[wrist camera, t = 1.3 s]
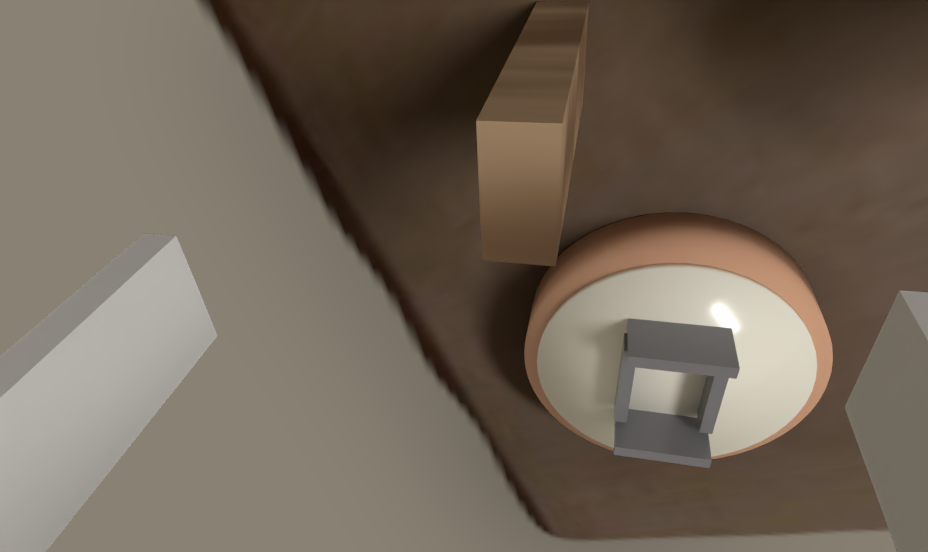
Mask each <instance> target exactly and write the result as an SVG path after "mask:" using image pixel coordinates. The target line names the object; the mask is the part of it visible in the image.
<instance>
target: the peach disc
mask: <svg viewBox="0 0 928 552" xmlns="http://www.w3.org/2000/svg"><path fill="white" fill-rule="evenodd" d="M524 358H525V368H526V371H527V375H528V379H529V381H530V384H531V386H532V388H533V390H534V392H535V394H536V395H537V397H538V398H539V400H540V402H541V403H542V404H543V405H544V406H545V408H546V409H547V410H548V411H549V412H550V413H551V414H552V415H553V416H554V417H555V418H556V419H557V420H558V421H559V422H560V423H562V424H563V425H564V426H566V427H567V428H568V429H570V430H571V431H573V432H574V433H576V434H578V435H579V436H581V437H583V438H584V439H586V440H588V441H590V442H593V443H595V444H597V445H599V446H601V447H604V448H607V449H610V450H612V451H614V455H621V456H628V457H635V458H642V459H649V460H656V461H663V462H670V463H677V464H684V465H691V466H698V467H705V468H709V467H710V464H711V461H712V459H716V458H722V457H726V456H731V455H735V454H739V453H742V452H745V451H748V450H751V449H754V448H756V447H759V446H761V445H763V444H766V443H768V442H770V441H772V440H774V439H776V438H777V437H779V436H781V435H783V434H784V433H786V432H787V431H789V430H790V429H791V428H793V427H794V426H795V425H797V424H798V423H799V422H800V421H801V420H802V419H803V418H804V417H805V416H807V415H808V414H809V413H810V411H811V410H812V409H813V408H814V406H815V405H816V404H817V402H818V401H819V400H820V398H821V396H822V394H823V392H824V391H825V389H826V387H827V384H828V381H829V378H830V375H831V370H832V362H833V353H832V342H831V339H830V335H829V332H828V329H827V326H826V323H825V321H824V318H823V316H822V313H821V311H820V308H819V306H818V303H817V300H816V298H815V295H814V293H813V290H812V288H811V285H810V283H809V281H808V279H807V278H806V276H805V274H804V272H803V270H802V269H801V268H800V267H799V265H798V264H797V263H796V261H795V260H794V259H793V258H792V257H791V256H790V255H789V254H788V253H787V252H786V251H785V250H784V249H783V248H782V247H781V246H779V245H778V244H776V243H775V242H773V241H772V240H771V239H769V238H768V237H766V236H765V235H763V234H761V233H759V232H757V231H755V230H753V229H751V228H749V227H747V226H744V225H741V224H738V223H735V222H733V221H730V220H726V219H722V218H718V217H713V216H709V215H701V214H692V213H659V214H649V215H642V216H638V217H633V218H628V219H624V220H621V221H618V222H615V223H612V224H609V225H606V226H604V227H602V228H600V229H598V230H595V231H593V232H591V233H589V234H588V235H586V236H584V237H583V238H581V239H580V240H578V241H576V242H575V243H573V244H572V245H571V246H570V247H569V248H567V249H566V250H565V251H564V252H562V253H561V254H560V255H559V257H558V258H557V262H556V266H550V267H549V268H548V270H547V271H546V273H545V274H544V276H543V277H542V279H541V281H540V283H539V286H538V288H537V290H536V293H535V297H534V300H533V305H532V310H531V315H530V320H529V325H528V330H527V335H526V340H525V349H524Z"/></svg>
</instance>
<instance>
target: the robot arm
mask: <svg viewBox="0 0 928 552" xmlns="http://www.w3.org/2000/svg"><path fill="white" fill-rule="evenodd" d="M216 337H217V333H216V331H215V329H214V326H213V324H212V321H211V319H210V316H209V314H208V311H207V309H206V307H205V304H204V302H203V299H202V297H201V294H200V292H199V290H198V287H197V285H196V282H195V280H194V278H193V275H192V273H191V270H190V268H189V266H188V263H187V261H186V258H185V256H184V253H183V251H182V249H181V246H180V244H179V241H178V239H177V236H174V235H161V234H148V233H147V234H146V233H144V234H142V235H141V236H140V237H139V238H138V239H137V240H135V241H134V242H133V243H132V244H131V245H130V246H128V247H127V248H126V249H125V250H124V251H123V252H121V253H120V254H119V255H118V256H117V257H116V258H114V259H113V260H112V261H111V262H110V263H109V264H107V265H106V266H105V267H104V268H103V269H101V270H100V271H99V272H98V273H97V274H96V275H95V276H93V277H92V278H91V279H90V280H89V281H88V282H86V283H85V284H84V285H83V286H82V287H80V288H79V289H78V290H77V291H76V292H75V293H73V294H72V295H71V296H70V297H69V298H68V299H67V300H65V301H64V302H63V303H62V304H61V305H59V306H58V307H57V308H56V309H55V310H54V311H52V312H51V313H50V314H49V315H48V316H47V317H46V318H44V319H43V320H42V321H41V322H40V323H38V324H37V325H36V326H35V327H34V328H33V329H31V330H30V331H29V332H28V333H27V334H26V335H24V336H23V337H22V338H21V339H20V340H19V341H18V342H16V343H15V344H14V345H13V346H12V347H10V348H9V349H8V350H7V351H6V352H5V353H3V354H2V355H1V356H0V552H46V551H47V549H48V548H49V547H50V545H51V544H52V543H53V542H54V541H55V539H56V538H57V537H58V536H59V534H60V533H61V532H62V530H63V529H64V528H65V527H66V525H67V524H68V523H69V522H70V520H71V519H72V518H73V517H74V515H75V514H76V513H77V512H78V510H79V509H80V508H81V507H82V505H83V504H84V503H85V502H86V500H87V499H88V498H89V496H90V495H91V494H92V493H93V492H94V490H95V489H96V488H97V486H98V485H99V484H100V483H101V481H102V480H103V479H104V478H105V476H106V475H107V474H108V473H109V471H110V470H111V469H112V468H113V466H114V465H115V464H116V463H117V461H118V460H119V459H120V458H121V456H122V455H123V454H124V453H125V451H126V450H127V449H128V448H129V446H130V445H131V444H132V443H133V441H134V440H135V439H136V438H137V436H138V435H139V434H140V432H141V431H142V430H143V429H144V427H145V426H146V425H147V424H148V422H149V421H150V420H151V419H152V417H153V416H154V415H155V414H156V412H157V411H158V410H159V409H160V407H161V406H162V405H163V404H164V402H165V401H166V400H167V399H168V397H169V396H170V395H171V394H172V392H173V391H174V390H175V389H176V387H177V386H178V385H179V383H180V382H181V381H182V380H183V378H184V377H185V376H186V375H187V373H188V372H189V371H190V370H191V368H192V367H193V366H194V365H195V363H196V362H197V361H198V360H199V358H200V357H201V356H202V354H203V353H204V352H205V351H206V349H207V348H208V347H209V346H210V345H211V343H212V342H213V341H214V339H215V338H216ZM845 410H846V412H847V415H848V418H849V421H850V423H851V426H852V429H853V432H854V434H855V437H856V440H857V443H858V446H859V448H860V451H861V454H862V457H863V459H864V462H865V465H866V468H867V470H868V473H869V476H870V479H871V481H872V484H873V487H874V490H875V493H876V495H877V498H878V501H879V504H880V506H881V509H882V512H883V515H884V517H885V520H886V523H887V526H888V528H889V531H890V534H891V537H892V540H893V542H894V545H895V548H896V551H897V552H928V293H926V292H913V291H900V290H899V292H898V295H897V297H896V299H895V301H894V303H893V305H892V307H891V309H890V312H889V314H888V316H887V318H886V320H885V322H884V324H883V326H882V329H881V331H880V333H879V335H878V337H877V339H876V341H875V343H874V346H873V348H872V350H871V352H870V354H869V356H868V358H867V360H866V363H865V365H864V367H863V369H862V371H861V373H860V375H859V378H858V380H857V382H856V384H855V386H854V388H853V390H852V392H851V395H850V397H849V399H848V401H847V403H846V405H845Z"/></svg>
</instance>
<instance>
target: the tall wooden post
mask: <svg viewBox="0 0 928 552" xmlns="http://www.w3.org/2000/svg"><path fill="white" fill-rule="evenodd" d="M588 13H589V1H537V2H536V4H535V6H534V8H533V10H532V12H531V14H530V16H529V18H528V20H527V22H526V24H525V26H524V28H523V30H522V32H521V34H520V36H519V38H518V40H517V42H516V44H515V46H514V47H513V49H512V51H511V53H510V55H509V57H508V59H507V61H506V63H505V65H504V67H503V69H502V71H501V73H500V75H499V77H498V79H497V81H496V83H495V85H494V87H493V89H492V91H491V93H490V94H489V96H488V98H487V100H486V102H485V104H484V106H483V108H482V110H481V112H480V114H479V116H478V118H477V120H476V129H477V152H478V175H479V198H480V221H481V244H482V261H495V262H507V263H519V264H531V265H544V266H556V262H557V256H558V250H559V244H560V238H561V231H562V225H563V219H564V213H565V207H566V201H567V195H568V189H569V183H570V177H571V171H572V164H573V158H574V152H575V146H576V140H577V134H578V128H579V122H580V116H581V110H582V104H583V90H584V75H585V59H586V44H587V29H588Z"/></svg>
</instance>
